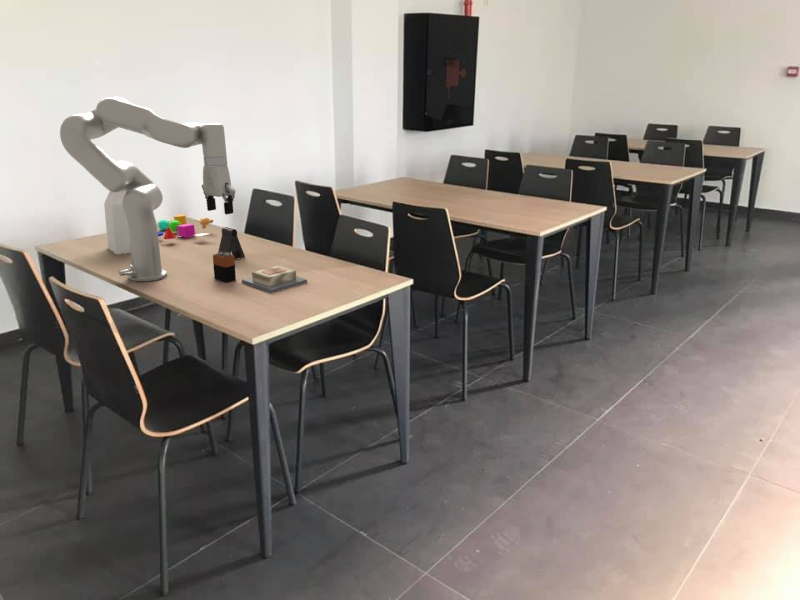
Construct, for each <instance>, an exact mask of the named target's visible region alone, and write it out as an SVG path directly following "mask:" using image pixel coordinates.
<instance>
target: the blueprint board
mask: <svg viewBox="0 0 800 600" xmlns="http://www.w3.org/2000/svg"><path fill="white" fill-rule="evenodd" d="M241 283H242V284H244V285H247V286H250V287H252V286H253V287H252V288H255V287H256V288H255V289H258V290H261V291H263V290H264V292H266V291H267V293H269V292H270V293H269V294H273V293H276V292H275V291H277V292H279V290H280V291H284V290H287V289H290V287H291V288H293V287H297V285H298V286H300V285H305V284H307V283H308V279H306V278H303V277H300V276H297V275H296V279H293V280H289V281H286V282H282V283H278V284H275V285H271V286H267V285H264V284H261V283H258V282H256V281H253V279H252V276H249V277H246V278H243V279H241ZM304 283H305V284H304ZM283 289H284V290H283ZM272 292H273V293H272Z"/></svg>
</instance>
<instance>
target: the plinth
mask: <svg viewBox="0 0 800 600" xmlns="http://www.w3.org/2000/svg"><path fill="white" fill-rule="evenodd" d="M296 276H297V271H296V269H293V268H290V267H286V266H283V265H279V264H278V265H274V266H272V267H267V268H263V269H258V270H256V271H252V272H251V277H252V279H253V281H256V282H258V283H261V284H264V285H267V286H271V285H275V284H278V283H282V282H286V281H289V280H293V279H296Z"/></svg>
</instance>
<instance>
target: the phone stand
mask: <svg viewBox="0 0 800 600" xmlns="http://www.w3.org/2000/svg"><path fill="white" fill-rule="evenodd" d="M220 251H221V252H222V253H230V255H234V259H235V260H240V259H244V258H245V257H246V254H245V253H244V250H243V248H242V244H241V242H240V241H239V237H238V231H237V230H236V229H235V228H231V227H227V226H225V227H224V226H223V227H222V228H221V239H220V243H219V248H218V250H217V253H218V252H220ZM243 257H244V258H243ZM239 258H240V259H239Z"/></svg>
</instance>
